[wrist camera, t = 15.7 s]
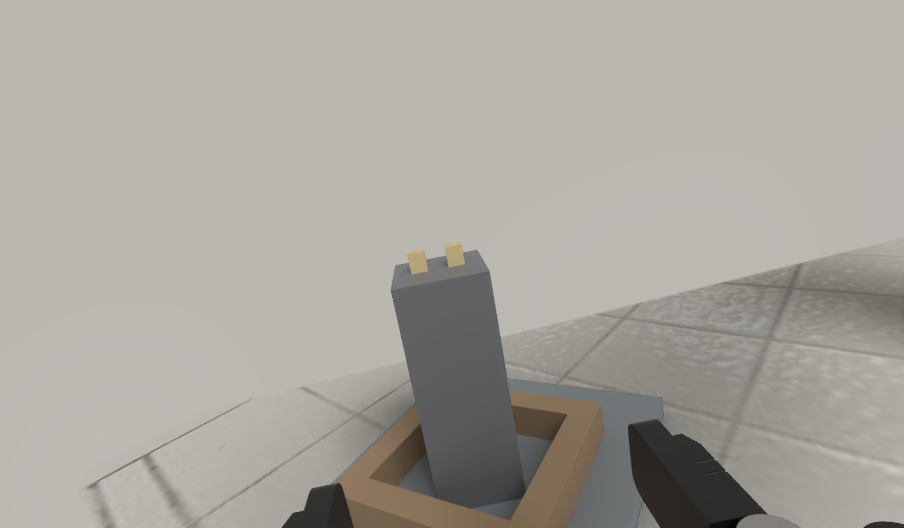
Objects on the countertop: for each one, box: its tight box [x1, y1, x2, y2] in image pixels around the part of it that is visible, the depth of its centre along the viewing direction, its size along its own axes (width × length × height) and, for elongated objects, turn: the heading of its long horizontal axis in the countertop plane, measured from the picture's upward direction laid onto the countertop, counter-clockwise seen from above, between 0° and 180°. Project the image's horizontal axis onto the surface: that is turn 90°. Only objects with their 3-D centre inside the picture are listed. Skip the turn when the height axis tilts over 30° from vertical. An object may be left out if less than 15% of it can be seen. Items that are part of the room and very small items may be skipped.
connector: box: [391, 242, 526, 509], centre depth 24 cm, size 4×4×13 cm
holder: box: [303, 378, 663, 528], centre depth 26 cm, size 20×16×3 cm
